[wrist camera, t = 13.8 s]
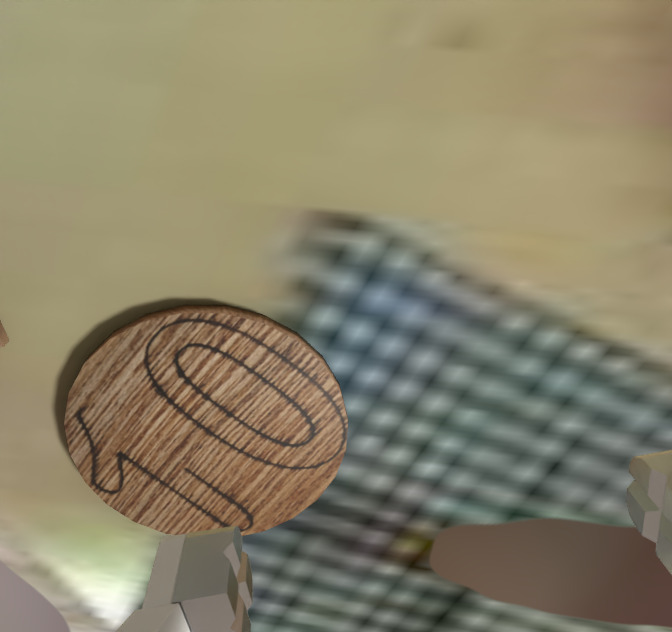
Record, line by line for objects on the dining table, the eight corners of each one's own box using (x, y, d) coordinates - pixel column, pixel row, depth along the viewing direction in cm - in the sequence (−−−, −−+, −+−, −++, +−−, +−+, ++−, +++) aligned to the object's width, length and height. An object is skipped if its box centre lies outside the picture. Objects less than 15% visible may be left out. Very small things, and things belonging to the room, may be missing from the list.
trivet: (241, 559, 59) (240, 573, 57) (19, 447, 51) (10, 460, 49) (400, 403, 52) (404, 415, 50) (173, 244, 44) (169, 251, 42)
